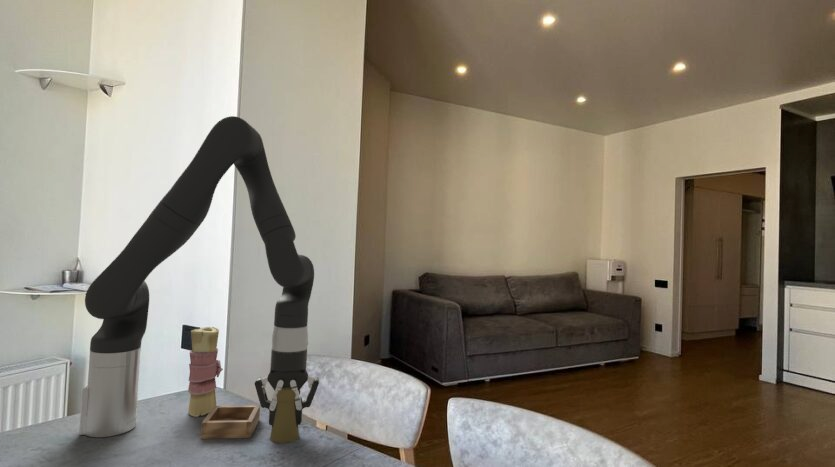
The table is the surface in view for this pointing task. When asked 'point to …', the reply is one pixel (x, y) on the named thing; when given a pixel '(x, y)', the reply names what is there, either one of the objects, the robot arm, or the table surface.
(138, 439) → the table surface
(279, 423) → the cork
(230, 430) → the wooden tray
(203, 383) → the scroll
